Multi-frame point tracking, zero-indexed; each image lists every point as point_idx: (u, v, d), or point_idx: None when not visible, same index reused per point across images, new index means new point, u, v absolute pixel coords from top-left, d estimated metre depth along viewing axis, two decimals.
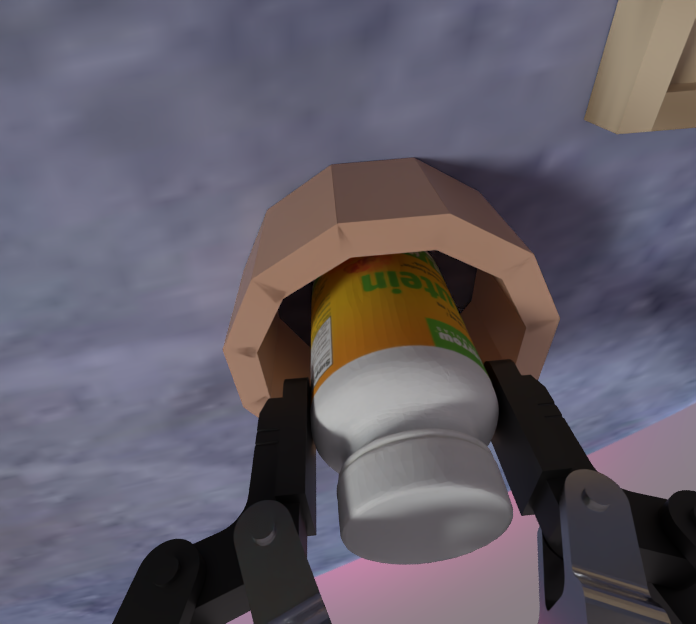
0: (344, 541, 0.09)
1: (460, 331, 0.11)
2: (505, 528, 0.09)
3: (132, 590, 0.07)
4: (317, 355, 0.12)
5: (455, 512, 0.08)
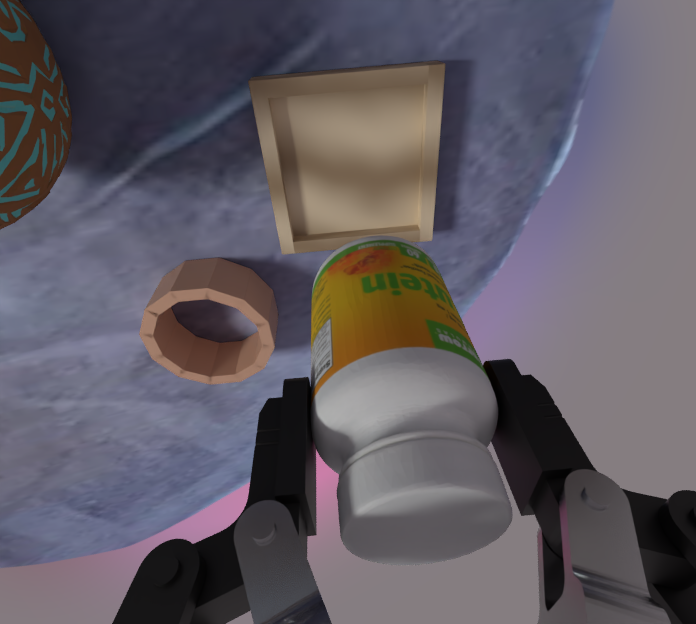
0: (344, 542, 0.09)
1: (460, 332, 0.11)
2: (504, 529, 0.09)
3: (133, 590, 0.07)
4: (317, 356, 0.12)
5: (455, 513, 0.08)
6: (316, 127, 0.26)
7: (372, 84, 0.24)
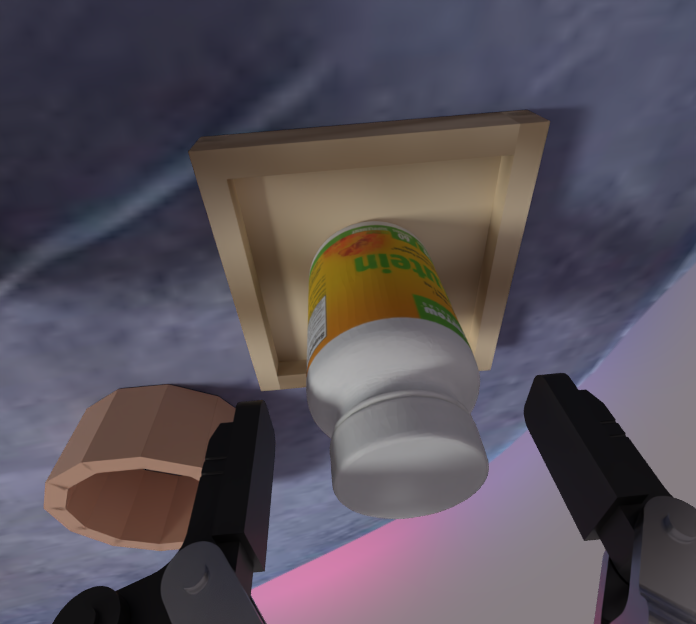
0: (336, 492, 0.10)
1: (445, 307, 0.12)
2: (482, 482, 0.10)
3: None
4: (313, 330, 0.13)
5: (436, 464, 0.09)
6: (313, 217, 0.16)
7: (415, 155, 0.13)
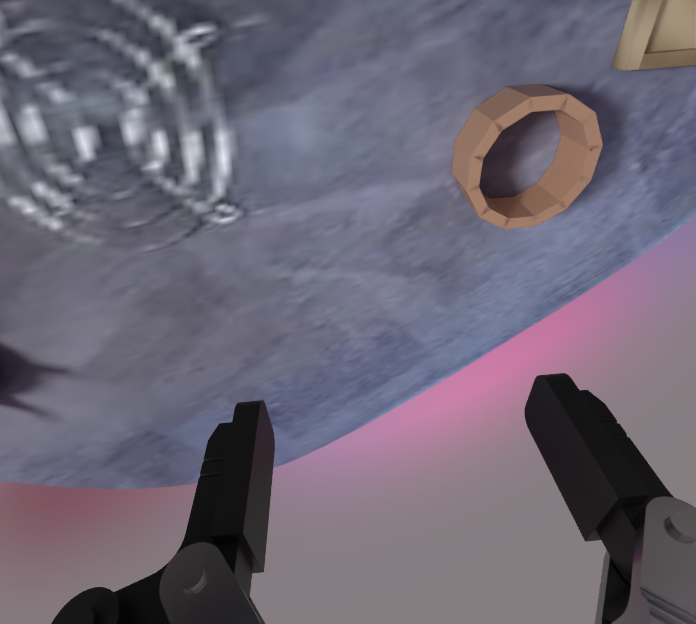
0: None
1: None
2: None
3: None
4: None
5: None
6: None
7: None
